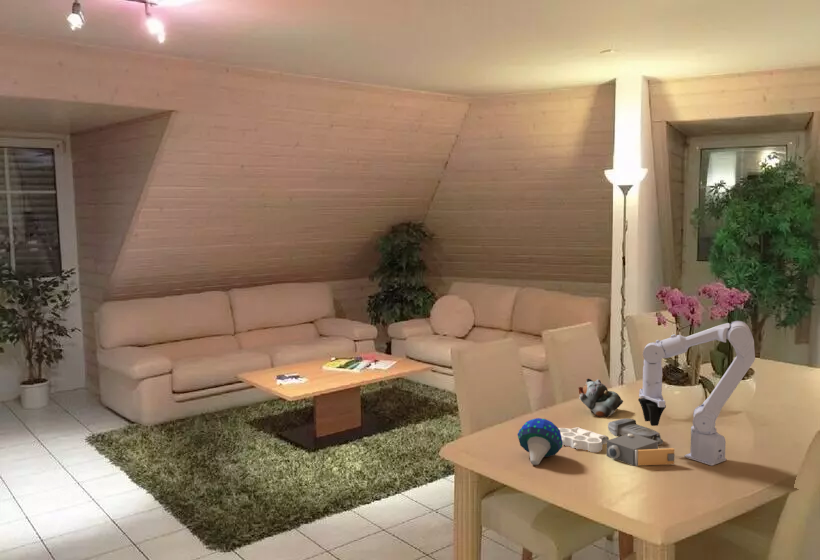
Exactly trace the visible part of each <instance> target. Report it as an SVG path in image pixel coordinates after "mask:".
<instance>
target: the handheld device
mask: <svg viewBox="0 0 820 560" xmlns="http://www.w3.org/2000/svg"><path fill="white" fill-rule="evenodd" d="M607 430H608V432H609V433H611V434H612V435H613V436H615V437H620V436H623V435H626V434H630V433H633V434H636V435H639V436H643V437H646V438H649V439H652V440H655V441H658V445H663V444H664V440H663V439H662V438H661V433H660V432H658V431H656V430H654V429H652V428H649V427H647V426H644V425H639V424H638V423H637V421H636V419H634V418H620V419H617V420H613V421H609V422H608V423H607Z"/></svg>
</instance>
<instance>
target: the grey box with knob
mask: <svg viewBox="0 0 820 560" xmlns="http://www.w3.org/2000/svg"><path fill="white" fill-rule="evenodd" d="M645 449H659V444H658V441H655V440H652V439H649V438H646V437H643V436H639V435H636V434H633V433H630V434H626V435H622V436H616V437H614V438H611V439H610V438H609V440H607V443H606V457H607V458H611V459H613V460H616V461H620V462H621V463H624V462H625V464H628V465H630V466H633V467H634V466H635V450H645Z"/></svg>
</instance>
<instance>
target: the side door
mask: <svg viewBox="0 0 820 560" xmlns="http://www.w3.org/2000/svg"><path fill="white" fill-rule="evenodd" d="M658 465H659V466H661V465H675V448H674V447H671V448H669V447H668V448H658V449H645V450H635V465H634V466H638V467H639V466H658Z"/></svg>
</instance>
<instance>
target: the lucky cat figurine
mask: <svg viewBox="0 0 820 560" xmlns="http://www.w3.org/2000/svg"><path fill="white" fill-rule="evenodd" d="M577 388H578V395H579V400H580V401H581V402H582V403H583V404H584V405H585V406H586V407H587V408H588V410H590V411H591V412H593V414H594V415H596V416H597V417H599V418H600V417H601V418H608V417H609V416H611V415H613V414H615V412H616V410H617V409H618V408H619V407H620V406H621V405H622V404H623V402H624V400H623V399H622V398H621V396H620V395H619V394H618V393H617V392H616V391H611V390H609V389H608V387H607V385H605V384H603V383H602V382H601V380H600V379H596V380H592V379H590V378H587V379H586V381H585V384H584V386H579V387H577Z"/></svg>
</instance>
